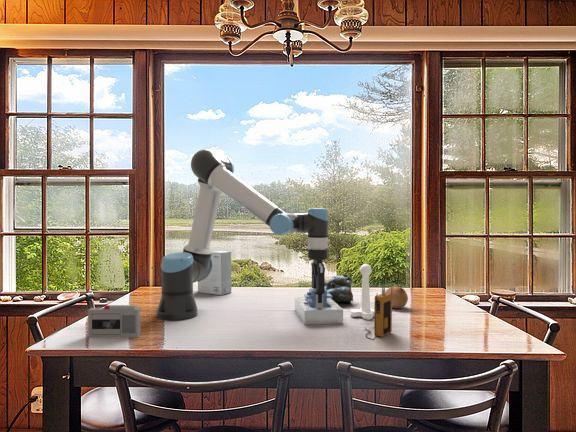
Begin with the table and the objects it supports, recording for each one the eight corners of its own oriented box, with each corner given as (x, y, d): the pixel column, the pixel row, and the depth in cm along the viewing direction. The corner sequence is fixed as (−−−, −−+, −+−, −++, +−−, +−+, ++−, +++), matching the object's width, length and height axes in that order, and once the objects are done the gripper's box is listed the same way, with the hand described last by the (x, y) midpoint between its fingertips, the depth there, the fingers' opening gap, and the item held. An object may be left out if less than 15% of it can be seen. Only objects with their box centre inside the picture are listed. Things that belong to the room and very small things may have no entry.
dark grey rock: (315, 303, 184) (315, 272, 191) (330, 309, 193) (330, 280, 199) (344, 297, 176) (343, 265, 182) (359, 304, 184) (358, 273, 190)
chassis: (304, 324, 152) (304, 310, 152) (294, 309, 173) (294, 297, 173) (343, 323, 154) (343, 309, 154) (328, 308, 175) (328, 296, 175)
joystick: (378, 314, 166) (378, 263, 166) (383, 319, 159) (384, 265, 158) (349, 314, 166) (350, 263, 165) (353, 320, 158) (354, 266, 158)
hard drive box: (232, 293, 206) (232, 251, 206) (221, 295, 200) (221, 253, 199) (207, 289, 214) (207, 249, 214) (197, 292, 208) (196, 251, 207)
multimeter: (370, 325, 152) (370, 268, 151) (396, 330, 145) (397, 271, 145) (348, 334, 140) (349, 273, 140) (376, 340, 134) (376, 277, 133)
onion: (404, 316, 175) (413, 296, 171) (382, 310, 175) (390, 290, 171) (400, 303, 184) (409, 284, 180) (379, 297, 184) (388, 278, 180)
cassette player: (88, 337, 136) (88, 306, 136) (91, 335, 139) (91, 304, 139) (137, 337, 137) (137, 306, 136) (140, 335, 139) (140, 304, 139)
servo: (306, 312, 161) (306, 288, 160) (304, 309, 165) (304, 286, 165) (332, 311, 162) (332, 288, 162) (329, 308, 166) (329, 285, 166)
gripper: (333, 250, 155) (333, 314, 155) (322, 246, 172) (322, 303, 173) (312, 251, 154) (312, 315, 154) (304, 246, 171) (304, 304, 172)
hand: (317, 309), depth 163 cm, fingers closed on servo, 4 cm apart
